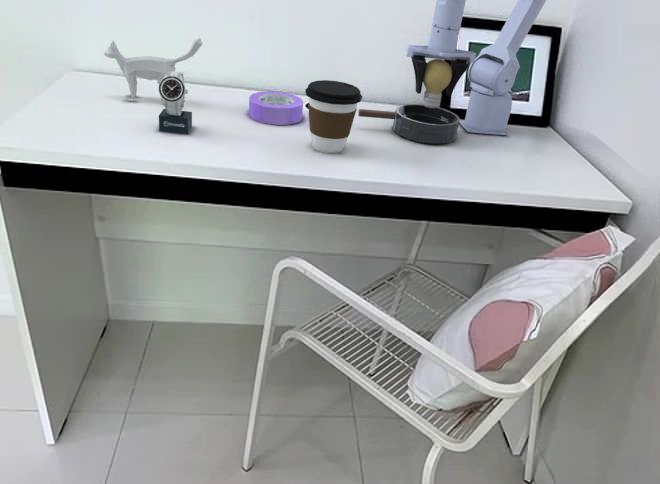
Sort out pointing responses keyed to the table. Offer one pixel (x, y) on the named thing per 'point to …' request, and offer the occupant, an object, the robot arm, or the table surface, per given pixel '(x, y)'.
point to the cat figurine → (146, 65)
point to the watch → (174, 104)
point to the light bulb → (436, 81)
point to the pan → (426, 124)
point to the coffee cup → (331, 113)
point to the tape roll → (275, 108)
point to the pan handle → (376, 114)
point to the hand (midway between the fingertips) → (433, 93)
